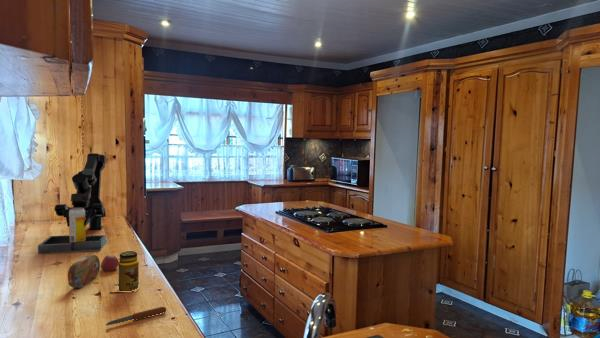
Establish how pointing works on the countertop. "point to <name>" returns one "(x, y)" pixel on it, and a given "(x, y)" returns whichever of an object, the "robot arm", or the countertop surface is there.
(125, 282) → the condiment
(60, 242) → the keyhole plate
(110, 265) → the fruit
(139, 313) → the kitchen knife
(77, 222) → the beer can
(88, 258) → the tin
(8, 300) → the countertop surface
